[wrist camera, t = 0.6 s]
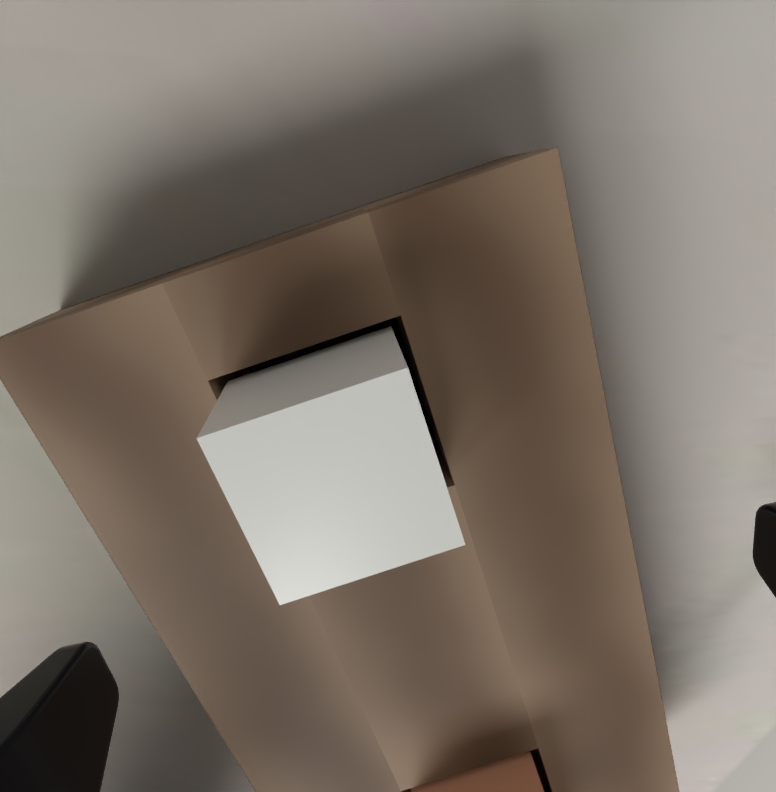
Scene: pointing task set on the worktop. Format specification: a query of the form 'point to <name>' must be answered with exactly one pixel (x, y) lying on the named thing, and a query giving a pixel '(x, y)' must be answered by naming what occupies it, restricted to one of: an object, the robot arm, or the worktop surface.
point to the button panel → (462, 470)
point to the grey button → (331, 467)
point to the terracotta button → (491, 778)
